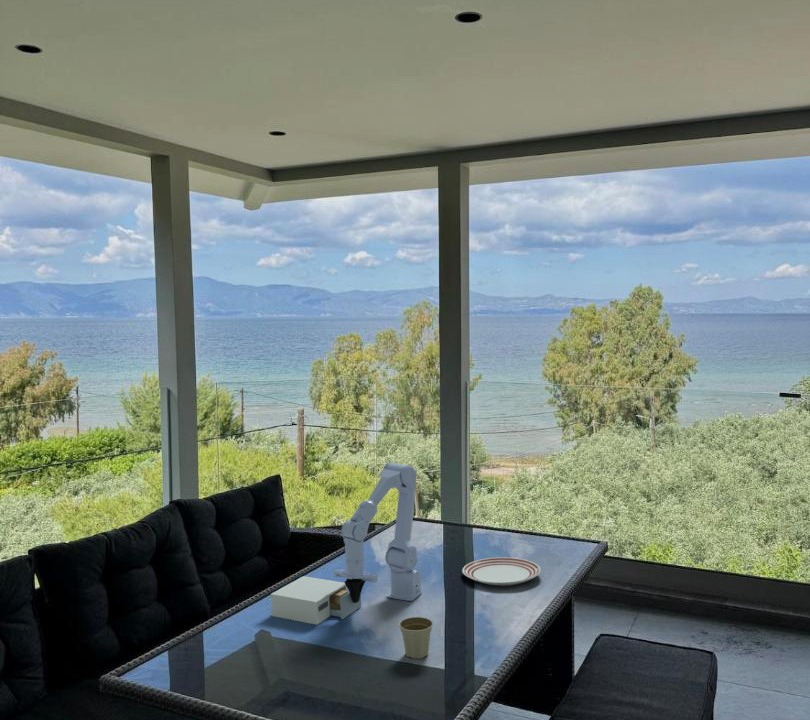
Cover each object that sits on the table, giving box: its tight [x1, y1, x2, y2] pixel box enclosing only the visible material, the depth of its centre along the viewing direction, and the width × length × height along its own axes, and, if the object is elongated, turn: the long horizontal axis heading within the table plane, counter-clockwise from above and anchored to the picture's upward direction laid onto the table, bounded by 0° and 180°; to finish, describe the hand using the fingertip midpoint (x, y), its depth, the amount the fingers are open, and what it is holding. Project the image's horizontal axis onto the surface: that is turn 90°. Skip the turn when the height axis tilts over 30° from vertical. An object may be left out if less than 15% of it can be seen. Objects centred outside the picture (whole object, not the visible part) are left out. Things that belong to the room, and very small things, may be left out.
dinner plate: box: [461, 556, 542, 587], centre depth 272 cm, size 28×27×3 cm
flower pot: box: [398, 616, 434, 660], centre depth 211 cm, size 9×9×9 cm
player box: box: [270, 575, 348, 626], centre depth 245 cm, size 17×18×7 cm
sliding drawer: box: [330, 591, 362, 620], centre depth 244 cm, size 10×11×7 cm
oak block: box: [329, 590, 349, 611], centre depth 244 cm, size 4×4×5 cm
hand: (355, 601), depth 241 cm, fingers closed
